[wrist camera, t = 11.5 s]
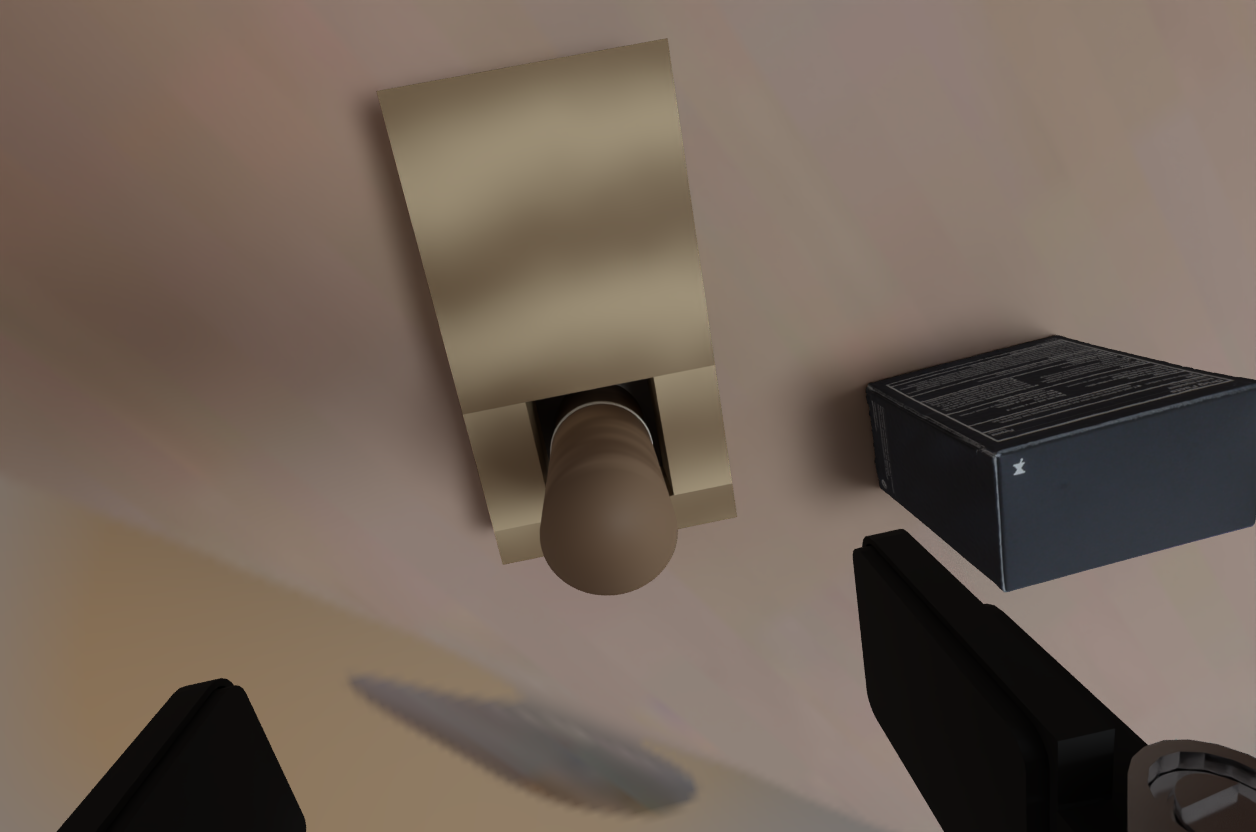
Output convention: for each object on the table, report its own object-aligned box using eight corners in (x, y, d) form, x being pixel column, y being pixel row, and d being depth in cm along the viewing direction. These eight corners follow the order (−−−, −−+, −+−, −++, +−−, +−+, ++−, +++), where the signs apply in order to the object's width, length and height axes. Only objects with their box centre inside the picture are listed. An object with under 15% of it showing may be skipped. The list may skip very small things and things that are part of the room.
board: (403, 110, 28) (376, 91, 24) (654, 64, 28) (667, 38, 24) (511, 526, 33) (503, 564, 30) (718, 484, 34) (737, 516, 30)
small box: (877, 496, 35) (1001, 604, 25) (861, 382, 33) (988, 449, 23) (1065, 447, 35) (1265, 534, 25) (1060, 330, 33) (1274, 374, 23)
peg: (636, 372, 31) (667, 455, 20) (651, 458, 33) (688, 582, 21) (545, 389, 31) (524, 482, 20) (564, 474, 33) (553, 608, 21)
